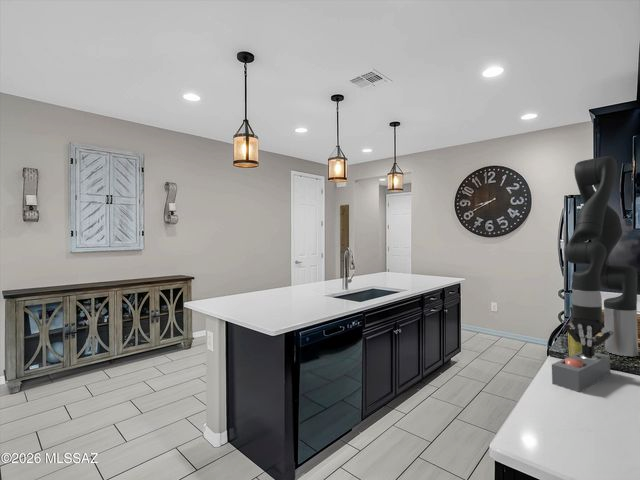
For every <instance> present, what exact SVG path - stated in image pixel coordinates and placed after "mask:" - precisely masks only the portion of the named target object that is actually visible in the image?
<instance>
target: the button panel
mask: <svg viewBox="0 0 640 480" xmlns="http://www.w3.org/2000/svg"><path fill="white" fill-rule="evenodd" d="M582 354H583V353H582V351H581V352H579V353H576V354H574V355H572V356H569V355H568V356H567V357H565V358H563V359H561V360H558V361H556V362H554V363H552V364H551V377H552V378H551V380H552V381H551V382H552V383H551V384H552V385H555V386H559V387H562V388H565V389H567V390H568V389H569V390H571V391H573V392H576V393H580V392H582V391H585V389H587V388H588V387H591V386H592V385H594V384H596V383H598V382H599V381H602V379H605V378H606V377H608V376H610V375H611V355H610V354H609V355H608V354H603V353H599V352H595V355H594V356H596V357H597V360H595V361H594V360H590V359H586V358H582V357H580V355H582ZM567 358H573V359H578V360H581V361H583V367H581V368H578V367H574V366H570V365H567V364H565V359H567Z"/></svg>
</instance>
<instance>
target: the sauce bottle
mask: <svg viewBox="0 0 640 480" xmlns="http://www.w3.org/2000/svg"><path fill="white" fill-rule="evenodd" d="M569 311H570V320H569V321H568V323H567V324H570V323H571V321H572V319H573V312H572V305H570V306H569ZM575 330H576V328H575ZM576 332H577V333H578V334H579V332H578V331H577V330H576ZM567 341H568V342H567V343H568V357H569V356H572V355H574V354H576V353H579V352H581V351H582V344H581V343H579V342H576V341H575V340H574V339H573V338H572V336H571V335H570V334H569V333H568V332H567Z"/></svg>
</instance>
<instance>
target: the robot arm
mask: <svg viewBox="0 0 640 480" xmlns="http://www.w3.org/2000/svg"><path fill="white" fill-rule="evenodd" d="M573 171H574V178H575V182H576V184H577V185H576V186H577V188H578V191H579V194H580V197H581V201H582V203H583V205H582V206H581V207H580V208H579V211H578V214H577V217H576V223H575V226H574V227H575V229H574V232H573V233H572V235H571V237H570V239H569V241H568V242H567V244H566V246H565V248H564V258H565V260H566V261H567V262H569V264H579V265H580V264H582V265H590V266H589V267H588V269H586V270H585V269H584V270H578V271H574V272H572V277H571V279H572V293H571V306H572V312H573V319H572V321H571V320H570V321H571V323H570V324H568V323H567V324H565V325H564V326H563V328H564V329H565V331H567V334H568V333H569V334H570V335H571V336H572V338H573V339H574V340H575V341H576V342H579V343H581V344H582V353H583V355H584V356H585V357H588V358H591V357H592V356H594V355H595V353H596V352H595V347H598V346H601V345H602V344H604V345H605V346H604V349H605V350H606V351H607V352H609V353H612V354H618V355H624V356H638V357H639V335H638V332H639V331H638V309H637V308H638V306H637V305H638V271H637V269H636V268H635V267H634V266H633V265H632V266H631V265H619V264H617V265H615V264H613V265H612V264H610V262H609V261H610V256H611V253H612V251H613V250H614V249H615V247H616V245H617V244H618V243H619V242H620V239H621V238H622V236H623V228H622V223H621V218H620V215H619V214H618V212H617V211H615V209H614V208H613V207H611V206H610V205H608V203H609V200H610V198H611V196H612V195H611V194H612V192H613V189H614V186H615V183H616V180H617V176H618V163H617V161H616V159H615V158H614V157H613V156H610V155H609V156H608V155H607V156H606V155H605V156H601V157H600V156H599V157H595V158H590V159H589V158H588V159H586V160H585V159H584V160H581V161H578V162H576V163H575V165H574V169H573ZM594 186H598V187H597V189H596V190H595V189H594ZM601 289H605V290H614V291H622V294H620V295H619V296H614V297H608V298H605V299H604V300H603V299H602V293H601ZM602 300H603V301H602ZM602 302H603V303H602ZM603 315H604V316H603ZM603 317H604V323H603ZM575 328H576V330H577V331H578V332H579V334H578V333H577V332H576V330H575ZM599 334H601V336H600V337H599V338H597V335H599ZM596 339H597V340H596ZM606 351H605V352H606ZM607 352H606V353H607ZM609 353H608V354H609Z"/></svg>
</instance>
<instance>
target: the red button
mask: <svg viewBox="0 0 640 480" xmlns="http://www.w3.org/2000/svg"><path fill="white" fill-rule="evenodd" d="M566 358H567V357H566ZM564 359H565V358H564ZM565 364H567V365H570V366H574V367H578V368H581V367H583V361H581V360H578V359H573V358H567V359H565Z"/></svg>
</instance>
